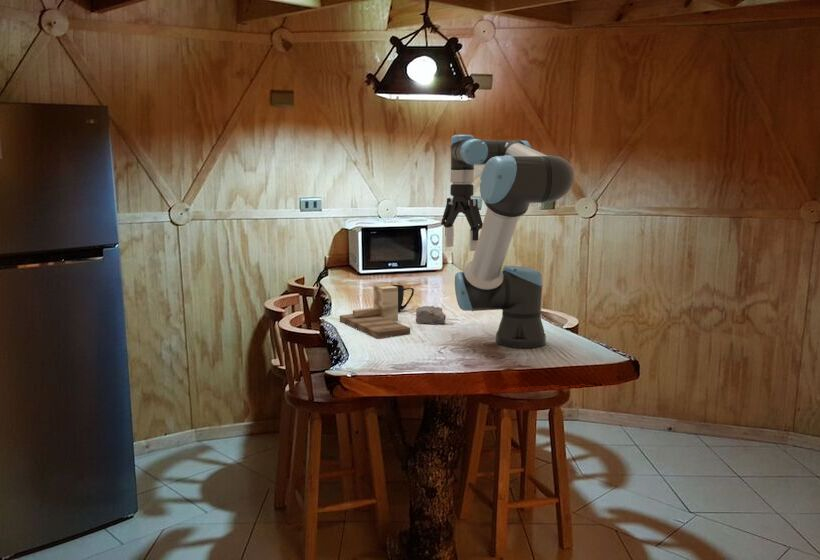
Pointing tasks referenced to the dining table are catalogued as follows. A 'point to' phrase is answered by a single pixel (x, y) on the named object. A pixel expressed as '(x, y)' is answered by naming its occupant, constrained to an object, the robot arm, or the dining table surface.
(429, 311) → the stone
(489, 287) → the robot arm
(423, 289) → the dining table surface
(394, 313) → the beige block with bar
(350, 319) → the board
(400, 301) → the mug
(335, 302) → the dining table surface
